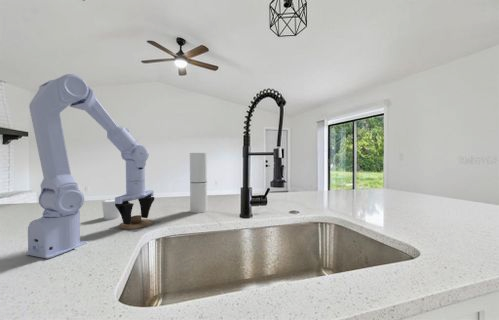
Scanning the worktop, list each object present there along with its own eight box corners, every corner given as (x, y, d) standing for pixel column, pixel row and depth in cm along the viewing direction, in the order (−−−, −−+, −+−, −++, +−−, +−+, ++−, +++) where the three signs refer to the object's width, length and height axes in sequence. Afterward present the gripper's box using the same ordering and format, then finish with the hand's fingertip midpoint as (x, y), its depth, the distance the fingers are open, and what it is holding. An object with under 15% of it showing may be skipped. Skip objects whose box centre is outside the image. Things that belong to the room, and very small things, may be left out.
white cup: (98, 219, 82) (97, 201, 82) (116, 215, 88) (116, 197, 88) (108, 222, 79) (108, 202, 79) (127, 217, 85) (126, 199, 85)
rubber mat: (136, 232, 67) (136, 231, 67) (109, 229, 71) (109, 228, 71) (160, 222, 78) (160, 221, 78) (136, 220, 81) (136, 219, 81)
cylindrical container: (186, 212, 92) (186, 152, 92) (195, 208, 99) (195, 153, 98) (202, 213, 90) (201, 152, 90) (210, 209, 97) (209, 153, 96)
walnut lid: (136, 230, 68) (136, 221, 68) (111, 228, 71) (111, 219, 71) (158, 221, 78) (158, 213, 78) (135, 219, 81) (135, 212, 81)
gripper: (127, 183, 66) (128, 228, 66) (160, 178, 80) (160, 215, 80) (109, 183, 68) (110, 226, 68) (144, 178, 82) (145, 214, 82)
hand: (136, 220), depth 74 cm, fingers open, 7 cm apart
